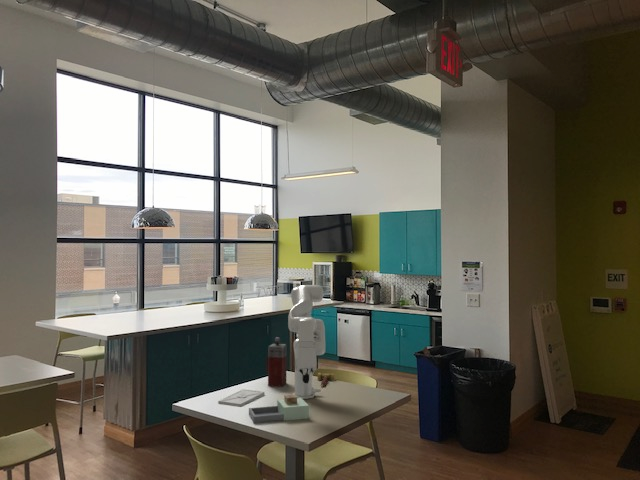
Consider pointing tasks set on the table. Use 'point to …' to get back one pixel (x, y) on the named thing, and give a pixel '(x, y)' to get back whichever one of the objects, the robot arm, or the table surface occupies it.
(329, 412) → the table surface
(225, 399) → the envelope
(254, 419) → the tray
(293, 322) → the robot arm
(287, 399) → the tile
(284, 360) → the red liquor decanter
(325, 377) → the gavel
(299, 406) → the mint green lidded box
